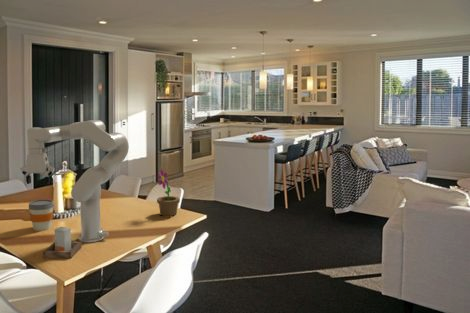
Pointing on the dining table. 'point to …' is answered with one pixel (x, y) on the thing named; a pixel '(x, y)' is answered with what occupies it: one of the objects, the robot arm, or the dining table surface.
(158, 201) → the flowerpot
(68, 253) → the socket
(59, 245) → the skincare box
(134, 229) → the dining table surface
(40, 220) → the reusable coffee cup
